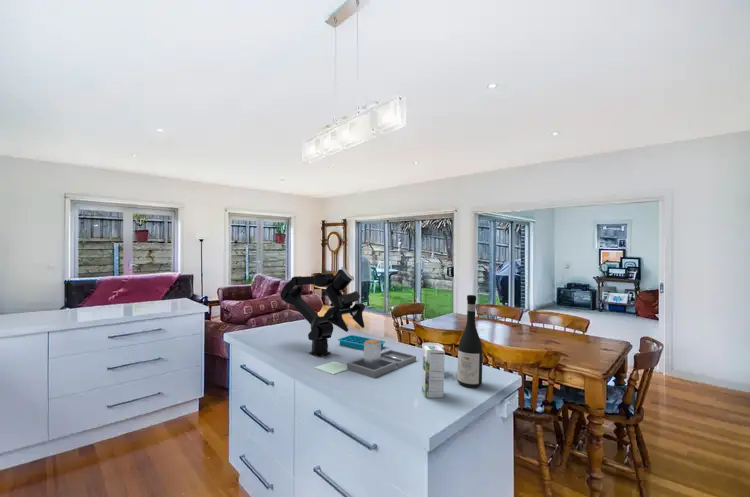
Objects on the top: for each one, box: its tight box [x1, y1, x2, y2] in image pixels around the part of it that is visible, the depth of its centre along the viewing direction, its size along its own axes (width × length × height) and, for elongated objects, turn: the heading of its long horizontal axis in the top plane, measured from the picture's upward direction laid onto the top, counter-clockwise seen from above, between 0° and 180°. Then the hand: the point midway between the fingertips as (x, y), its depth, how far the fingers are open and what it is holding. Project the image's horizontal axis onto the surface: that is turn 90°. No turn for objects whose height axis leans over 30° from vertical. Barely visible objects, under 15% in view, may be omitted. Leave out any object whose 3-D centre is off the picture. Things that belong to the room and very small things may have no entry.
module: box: [363, 338, 382, 370], centre depth 130 cm, size 4×5×10 cm
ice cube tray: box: [337, 334, 386, 351], centre depth 161 cm, size 12×20×3 cm, turn 57°
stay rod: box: [384, 355, 403, 361], centre depth 140 cm, size 10×1×1 cm, turn 51°
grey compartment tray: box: [346, 349, 417, 379], centre depth 135 cm, size 13×27×2 cm, turn 141°
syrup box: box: [421, 345, 446, 399], centre depth 109 cm, size 6×6×14 cm
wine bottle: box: [457, 294, 484, 389], centre depth 118 cm, size 8×8×30 cm
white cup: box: [421, 342, 445, 365], centre depth 129 cm, size 8×8×10 cm
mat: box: [313, 361, 349, 375], centre depth 130 cm, size 10×10×1 cm
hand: (355, 329), depth 135 cm, fingers open, 9 cm apart
